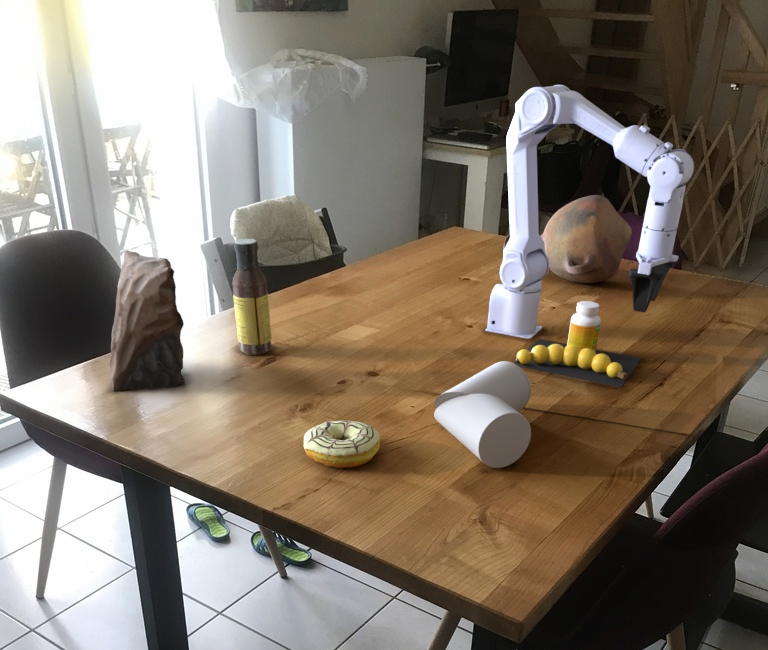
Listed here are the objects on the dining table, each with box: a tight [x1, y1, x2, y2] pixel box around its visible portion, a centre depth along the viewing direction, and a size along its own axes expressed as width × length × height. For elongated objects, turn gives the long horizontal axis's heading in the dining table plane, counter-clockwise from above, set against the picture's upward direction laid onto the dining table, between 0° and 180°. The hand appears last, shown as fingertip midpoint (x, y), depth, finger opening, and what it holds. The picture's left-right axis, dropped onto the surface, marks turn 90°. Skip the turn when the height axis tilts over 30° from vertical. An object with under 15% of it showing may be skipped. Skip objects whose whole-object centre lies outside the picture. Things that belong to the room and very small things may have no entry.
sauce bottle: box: [232, 238, 272, 356], centre depth 145 cm, size 6×6×20 cm
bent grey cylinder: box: [433, 360, 532, 469], centre depth 120 cm, size 18×10×20 cm
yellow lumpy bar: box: [514, 344, 627, 379], centre depth 144 cm, size 20×6×4 cm, turn 70°
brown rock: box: [109, 250, 186, 392], centre depth 133 cm, size 13×13×20 cm
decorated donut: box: [303, 419, 381, 469], centre depth 115 cm, size 10×11×4 cm
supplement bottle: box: [566, 300, 602, 353], centre depth 149 cm, size 5×5×10 cm
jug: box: [502, 194, 633, 284], centre depth 192 cm, size 20×20×30 cm
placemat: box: [513, 338, 642, 388], centre depth 149 cm, size 20×16×1 cm
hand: (644, 305), depth 145 cm, fingers open, 7 cm apart
